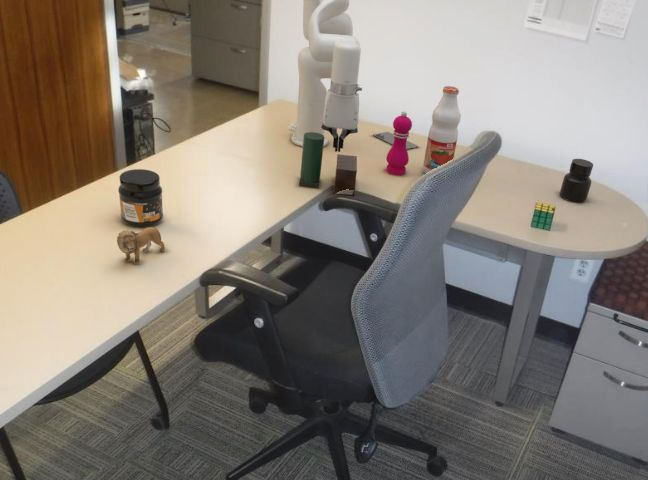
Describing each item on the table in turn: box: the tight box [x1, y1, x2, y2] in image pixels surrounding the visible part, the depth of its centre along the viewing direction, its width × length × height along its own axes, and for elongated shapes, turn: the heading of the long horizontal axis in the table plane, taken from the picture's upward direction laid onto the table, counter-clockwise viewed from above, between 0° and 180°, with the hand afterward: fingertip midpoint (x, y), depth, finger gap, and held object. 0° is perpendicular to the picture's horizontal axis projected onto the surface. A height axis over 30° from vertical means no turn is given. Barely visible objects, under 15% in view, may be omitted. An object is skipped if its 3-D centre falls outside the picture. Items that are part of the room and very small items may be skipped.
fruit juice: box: [422, 85, 462, 175], centre depth 231 cm, size 9×9×28 cm
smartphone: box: [372, 131, 419, 150], centre depth 259 cm, size 8×1×16 cm
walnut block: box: [333, 153, 358, 195], centre depth 217 cm, size 6×12×8 cm, turn 1°
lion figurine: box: [116, 226, 166, 265], centre depth 167 cm, size 15×5×9 cm, turn 159°
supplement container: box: [117, 168, 164, 228], centre depth 182 cm, size 10×10×12 cm
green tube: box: [298, 132, 325, 189], centre depth 214 cm, size 13×6×16 cm, turn 91°
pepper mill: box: [385, 110, 413, 176], centre depth 229 cm, size 7×7×20 cm
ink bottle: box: [559, 158, 594, 203], centre depth 232 cm, size 10×9×12 cm
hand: (337, 150), depth 213 cm, fingers closed
